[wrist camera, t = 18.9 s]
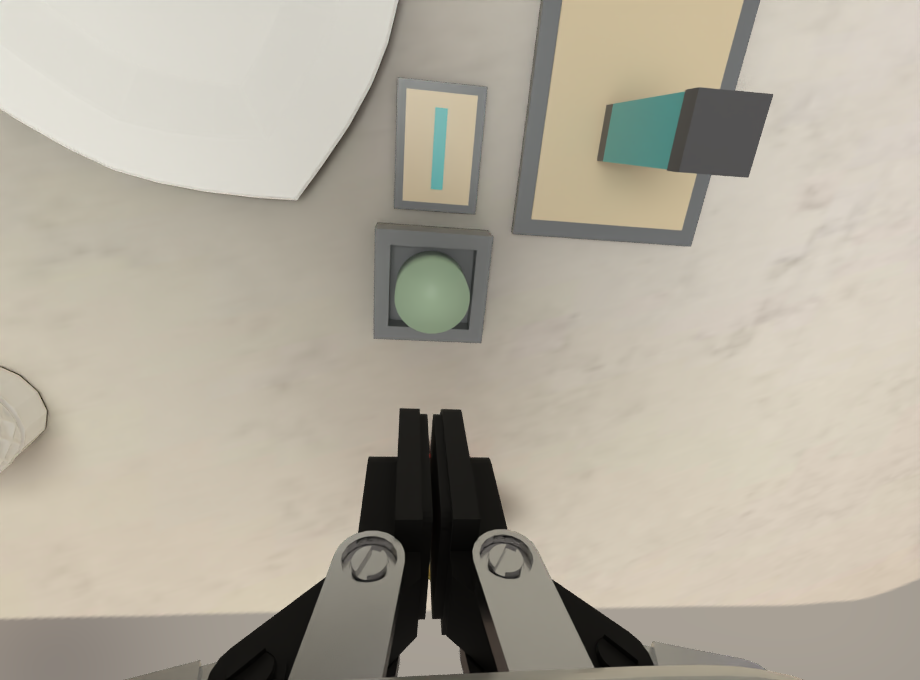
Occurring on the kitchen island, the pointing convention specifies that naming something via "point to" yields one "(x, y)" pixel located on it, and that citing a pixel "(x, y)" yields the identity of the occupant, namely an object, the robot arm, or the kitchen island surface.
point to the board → (608, 82)
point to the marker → (687, 131)
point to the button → (431, 292)
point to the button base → (411, 239)
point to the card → (438, 145)
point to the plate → (194, 84)
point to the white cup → (18, 416)
